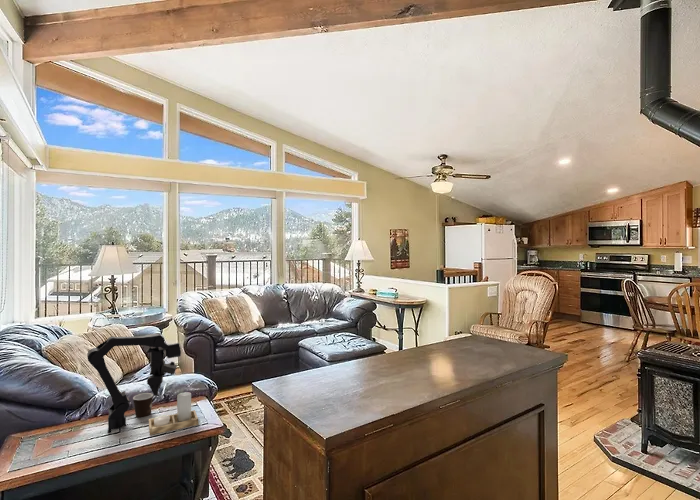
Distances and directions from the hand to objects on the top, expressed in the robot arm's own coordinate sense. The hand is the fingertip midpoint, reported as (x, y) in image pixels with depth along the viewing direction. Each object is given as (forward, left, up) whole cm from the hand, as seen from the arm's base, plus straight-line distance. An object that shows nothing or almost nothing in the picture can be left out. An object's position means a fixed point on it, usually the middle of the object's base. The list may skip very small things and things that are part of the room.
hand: (157, 392), depth 187 cm
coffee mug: (-5, +7, -13) cm, 16 cm away
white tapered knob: (+11, -13, -12) cm, 21 cm away
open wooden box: (+6, -13, -13) cm, 19 cm away
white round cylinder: (+1, -13, -12) cm, 18 cm away
